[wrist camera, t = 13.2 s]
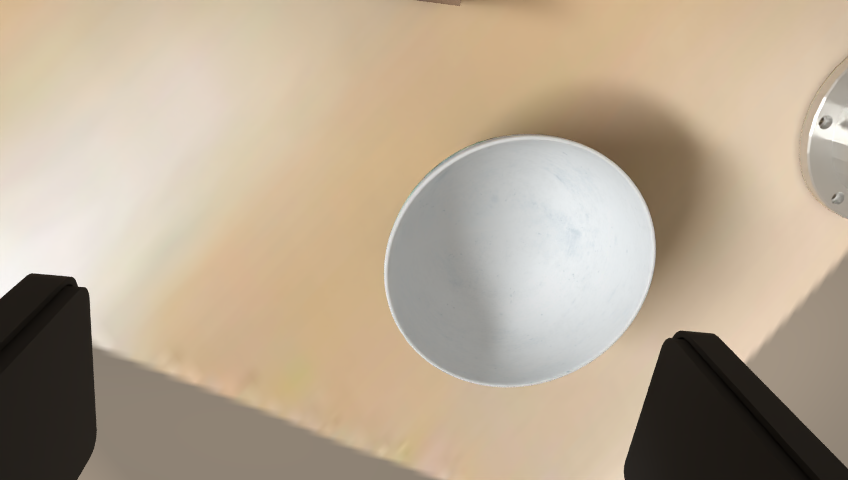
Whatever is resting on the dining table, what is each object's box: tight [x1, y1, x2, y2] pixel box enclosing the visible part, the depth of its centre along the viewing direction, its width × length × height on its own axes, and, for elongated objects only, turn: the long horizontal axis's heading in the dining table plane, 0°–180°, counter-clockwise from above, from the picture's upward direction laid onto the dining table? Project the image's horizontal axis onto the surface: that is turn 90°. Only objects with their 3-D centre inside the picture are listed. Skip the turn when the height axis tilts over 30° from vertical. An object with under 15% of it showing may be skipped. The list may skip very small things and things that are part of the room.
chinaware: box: [384, 134, 656, 387], centre depth 38 cm, size 15×15×8 cm
